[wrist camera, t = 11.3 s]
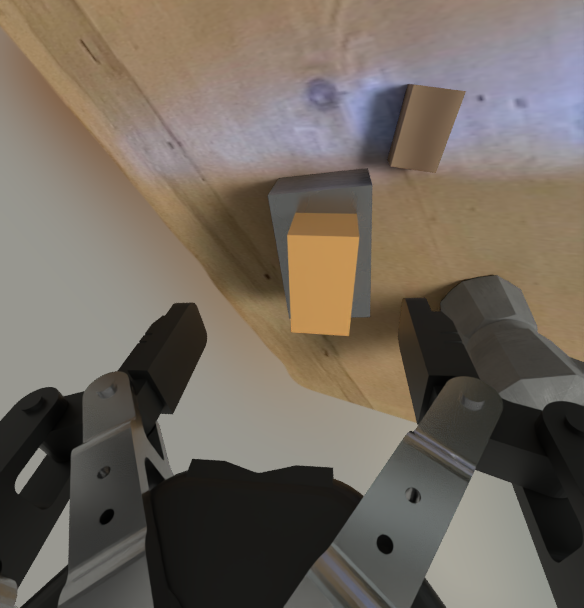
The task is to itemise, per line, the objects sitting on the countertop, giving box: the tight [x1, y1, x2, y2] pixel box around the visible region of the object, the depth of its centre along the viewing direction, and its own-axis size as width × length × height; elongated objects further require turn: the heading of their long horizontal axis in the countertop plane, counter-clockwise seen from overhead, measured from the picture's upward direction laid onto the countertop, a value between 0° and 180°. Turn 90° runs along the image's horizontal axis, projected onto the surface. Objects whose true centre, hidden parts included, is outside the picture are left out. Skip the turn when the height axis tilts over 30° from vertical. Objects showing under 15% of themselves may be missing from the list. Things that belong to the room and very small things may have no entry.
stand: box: [268, 168, 372, 319], centre depth 33 cm, size 9×14×6 cm, turn 7°
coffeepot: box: [440, 275, 584, 410], centre depth 31 cm, size 15×9×18 cm, turn 130°
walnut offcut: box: [387, 84, 466, 173], centre depth 27 cm, size 4×6×3 cm, turn 174°
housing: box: [287, 213, 359, 336], centre depth 28 cm, size 10×6×5 cm, turn 2°
